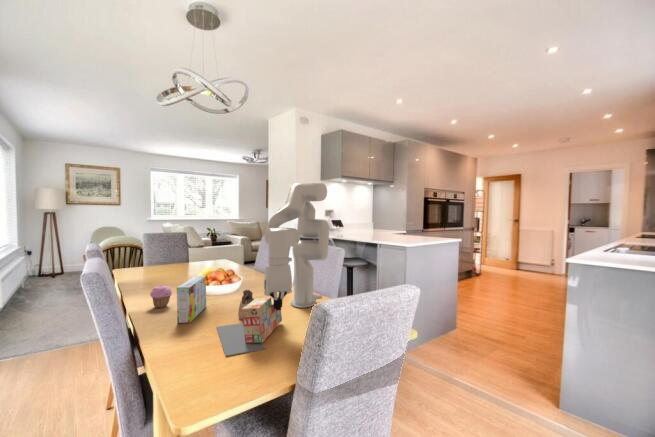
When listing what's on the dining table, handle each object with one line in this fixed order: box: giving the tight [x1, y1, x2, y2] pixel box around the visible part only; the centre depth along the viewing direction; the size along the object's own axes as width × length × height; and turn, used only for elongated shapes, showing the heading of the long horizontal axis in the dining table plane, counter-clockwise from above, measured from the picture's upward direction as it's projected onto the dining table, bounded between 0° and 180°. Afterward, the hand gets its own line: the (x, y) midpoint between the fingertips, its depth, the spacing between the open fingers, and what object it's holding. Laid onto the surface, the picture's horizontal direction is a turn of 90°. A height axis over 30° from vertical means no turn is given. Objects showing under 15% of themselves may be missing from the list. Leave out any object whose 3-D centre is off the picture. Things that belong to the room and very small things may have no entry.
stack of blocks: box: [242, 297, 283, 344], centre depth 113 cm, size 21×6×12 cm, turn 170°
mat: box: [216, 322, 266, 358], centre depth 109 cm, size 13×26×1 cm, turn 26°
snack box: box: [176, 275, 207, 324], centre depth 132 cm, size 21×6×15 cm, turn 5°
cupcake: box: [149, 285, 172, 309], centre depth 143 cm, size 9×9×10 cm
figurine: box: [238, 289, 255, 321], centre depth 130 cm, size 7×7×12 cm
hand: (277, 309), depth 115 cm, fingers closed
